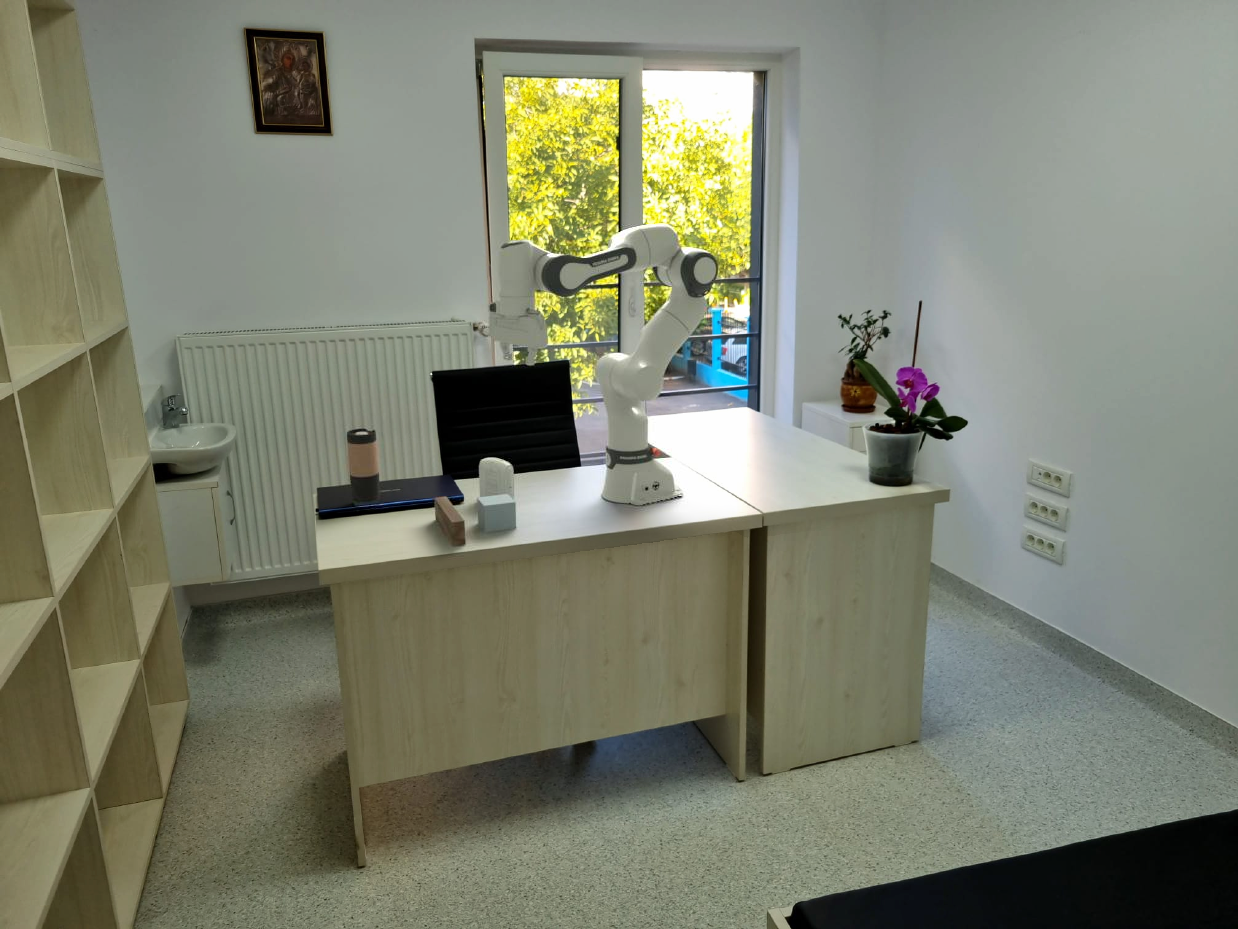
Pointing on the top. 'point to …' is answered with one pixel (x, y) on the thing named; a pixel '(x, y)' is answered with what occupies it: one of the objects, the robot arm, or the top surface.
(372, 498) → the travel mug
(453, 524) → the stop board
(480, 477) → the photo printer
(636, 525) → the top surface
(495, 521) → the slate block
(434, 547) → the top surface
